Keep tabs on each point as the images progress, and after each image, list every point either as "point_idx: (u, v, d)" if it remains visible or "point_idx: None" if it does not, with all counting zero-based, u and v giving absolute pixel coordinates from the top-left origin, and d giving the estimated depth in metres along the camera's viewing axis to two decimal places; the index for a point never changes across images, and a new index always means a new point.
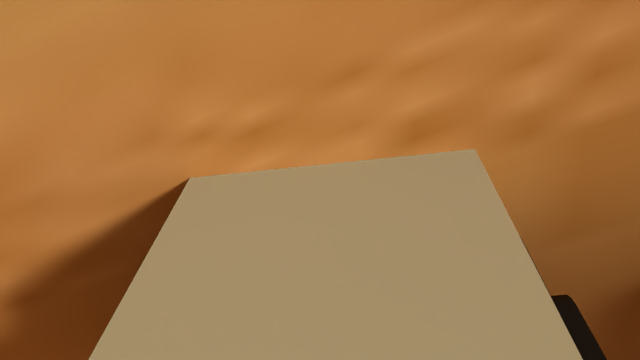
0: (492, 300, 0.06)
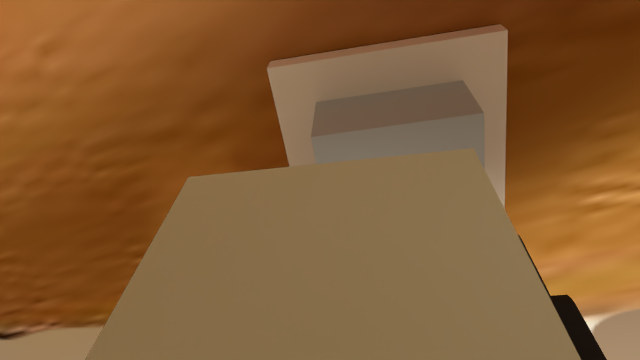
0: (489, 298, 0.06)
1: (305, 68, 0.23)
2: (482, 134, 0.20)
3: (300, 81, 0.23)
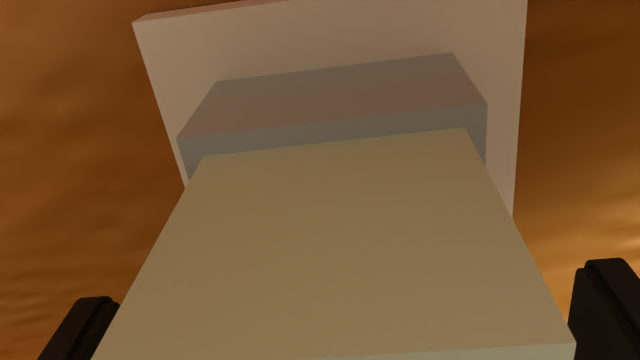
0: (474, 248, 0.07)
1: (194, 24, 0.14)
2: (482, 143, 0.11)
3: (187, 46, 0.14)
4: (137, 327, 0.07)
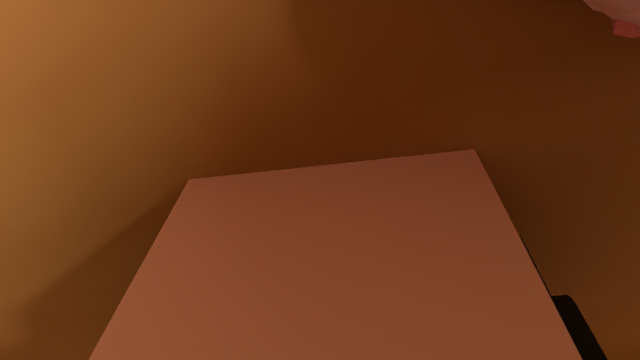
0: None
1: None
2: None
3: None
4: None
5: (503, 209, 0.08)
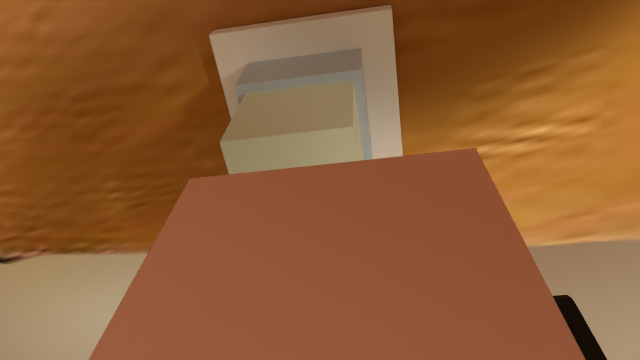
0: (337, 111, 0.22)
1: (238, 35, 0.29)
2: (362, 86, 0.26)
3: (234, 45, 0.29)
4: (232, 133, 0.22)
5: (505, 208, 0.08)
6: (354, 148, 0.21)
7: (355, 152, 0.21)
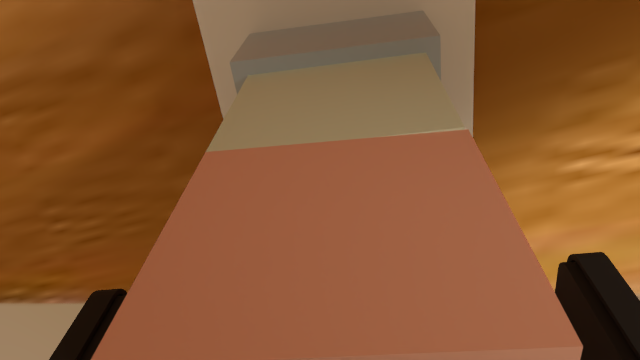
0: (420, 101, 0.12)
1: None
2: (438, 64, 0.16)
3: (229, 6, 0.19)
4: (227, 141, 0.12)
5: (492, 179, 0.09)
6: None
7: None
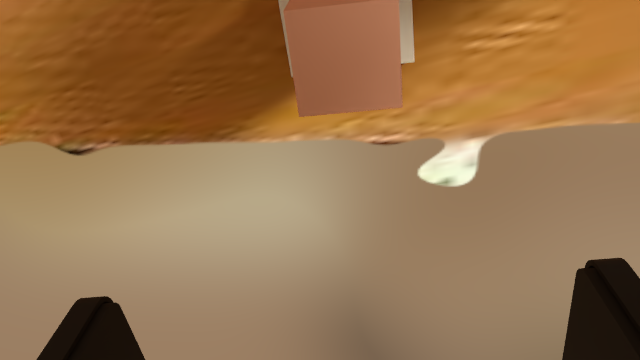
0: None
1: None
2: None
3: None
4: None
5: None
6: None
7: None
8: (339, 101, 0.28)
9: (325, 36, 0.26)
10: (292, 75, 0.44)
